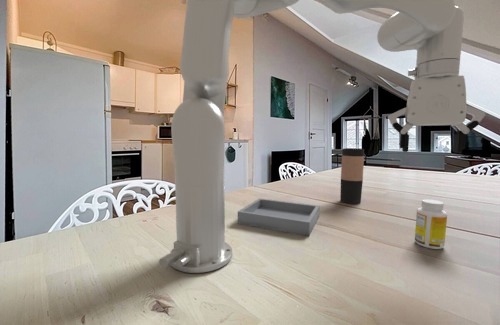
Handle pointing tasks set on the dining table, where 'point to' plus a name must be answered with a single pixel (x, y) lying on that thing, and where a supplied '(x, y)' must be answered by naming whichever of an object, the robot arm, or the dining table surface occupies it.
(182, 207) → the robot arm
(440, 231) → the supplement bottle
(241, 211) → the tray
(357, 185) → the travel mug
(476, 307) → the dining table surface
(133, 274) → the dining table surface
